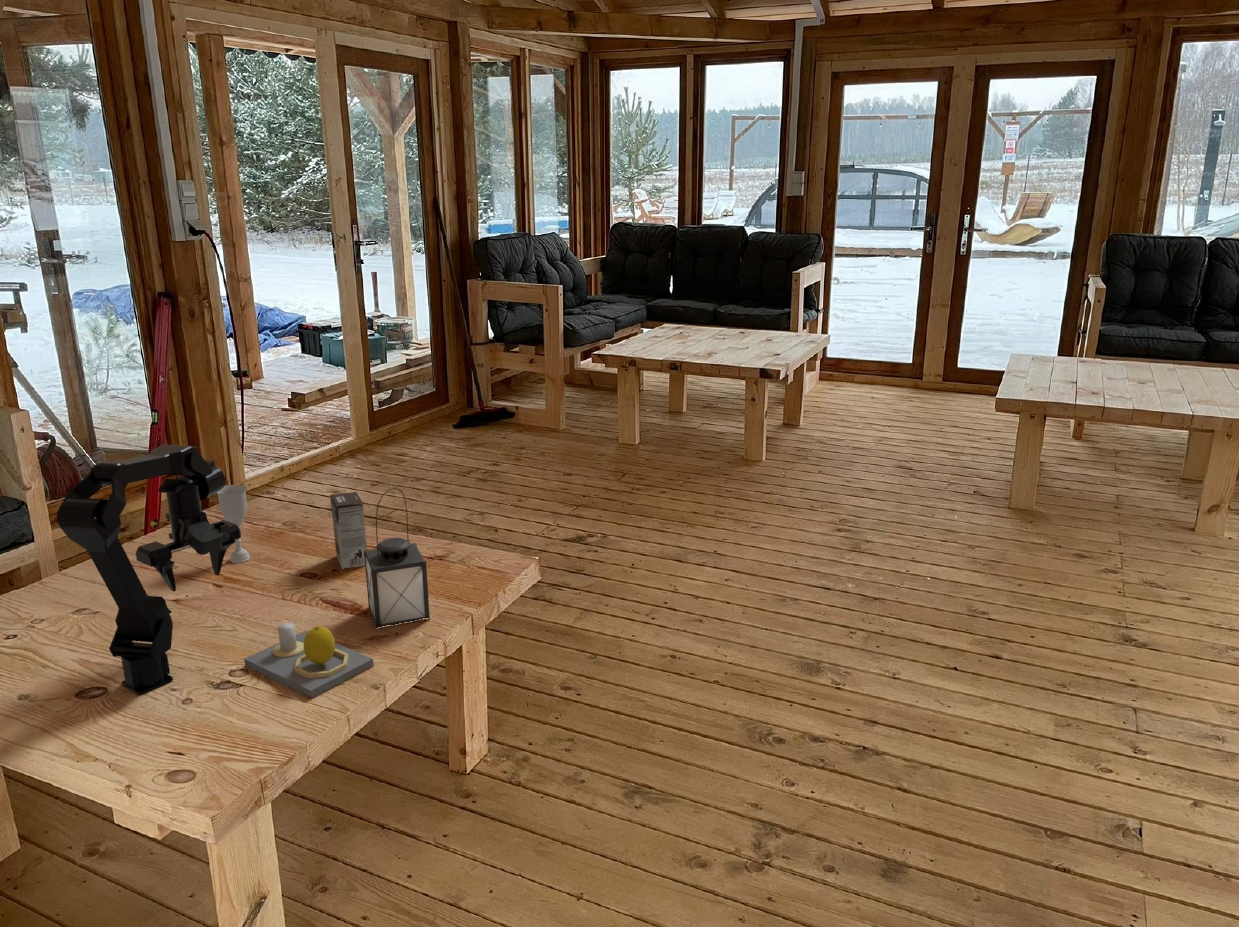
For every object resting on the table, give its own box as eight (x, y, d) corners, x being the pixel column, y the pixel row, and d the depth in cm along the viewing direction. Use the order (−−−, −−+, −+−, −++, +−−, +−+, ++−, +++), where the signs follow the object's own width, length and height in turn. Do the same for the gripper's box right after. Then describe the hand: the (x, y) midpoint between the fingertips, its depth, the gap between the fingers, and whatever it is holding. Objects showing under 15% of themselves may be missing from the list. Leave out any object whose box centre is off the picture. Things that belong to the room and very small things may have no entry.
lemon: (327, 673, 168) (323, 634, 166) (300, 670, 169) (295, 631, 167) (342, 659, 173) (338, 620, 171) (315, 656, 175) (311, 618, 172)
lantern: (420, 599, 202) (411, 478, 194) (430, 620, 192) (421, 493, 184) (368, 607, 198) (357, 484, 190) (376, 629, 188) (364, 500, 180)
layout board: (311, 698, 163) (308, 665, 161) (245, 665, 174) (240, 634, 172) (373, 665, 174) (370, 635, 172) (307, 637, 185) (303, 607, 183)
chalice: (218, 562, 221) (208, 492, 216) (237, 552, 228) (228, 483, 222) (243, 566, 219) (234, 495, 214) (262, 555, 225) (253, 486, 220)
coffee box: (335, 556, 225) (329, 494, 220) (362, 552, 228) (356, 490, 223) (341, 570, 217) (335, 505, 213) (368, 565, 220) (363, 502, 215)
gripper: (161, 531, 165) (173, 610, 170) (252, 503, 180) (261, 576, 184) (128, 519, 171) (141, 595, 176) (219, 492, 186) (229, 563, 190)
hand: (195, 582), depth 181 cm, fingers open, 9 cm apart
